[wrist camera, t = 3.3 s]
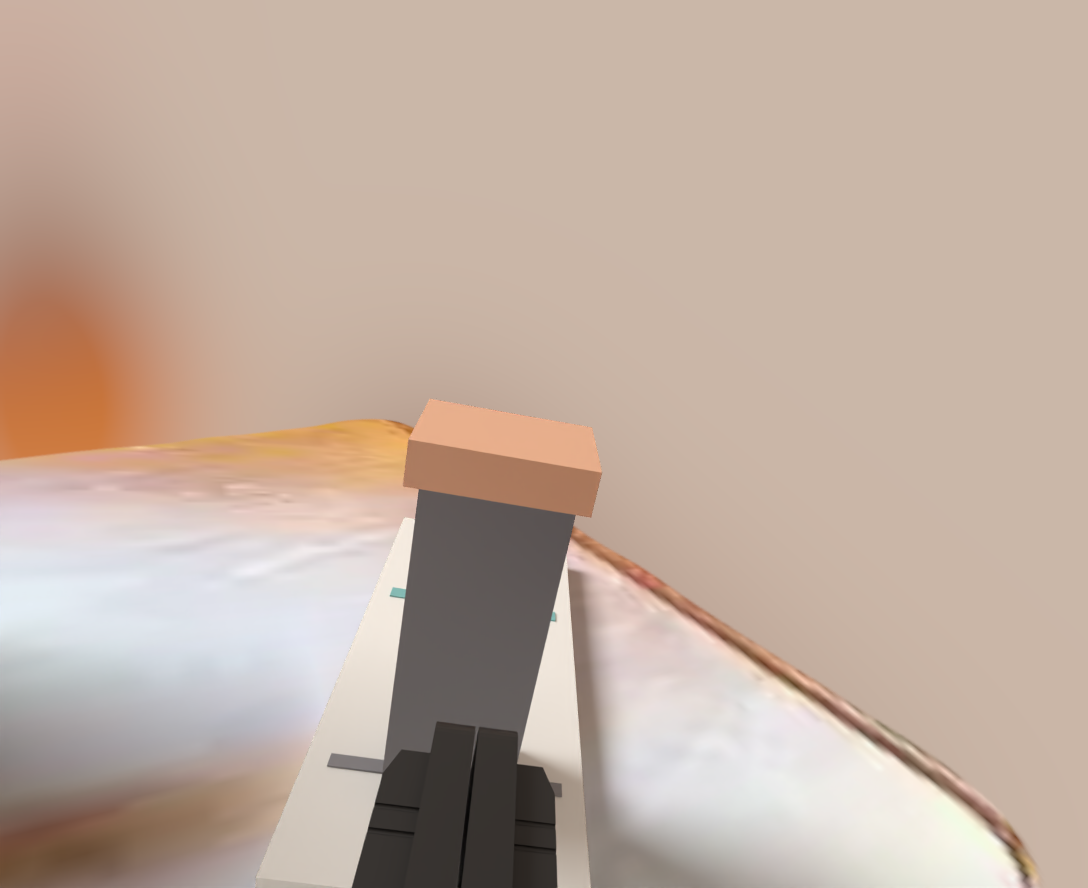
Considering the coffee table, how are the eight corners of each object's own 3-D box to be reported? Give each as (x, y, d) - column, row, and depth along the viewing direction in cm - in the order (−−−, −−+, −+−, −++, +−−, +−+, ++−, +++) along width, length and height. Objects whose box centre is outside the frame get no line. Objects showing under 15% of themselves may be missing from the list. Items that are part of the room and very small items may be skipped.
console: (254, 914, 23) (255, 875, 22) (401, 540, 47) (404, 516, 46) (581, 951, 24) (593, 915, 23) (560, 566, 48) (565, 542, 47)
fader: (365, 802, 25) (408, 439, 19) (388, 722, 28) (429, 398, 23) (515, 821, 25) (602, 472, 20) (518, 740, 29) (592, 427, 23)
